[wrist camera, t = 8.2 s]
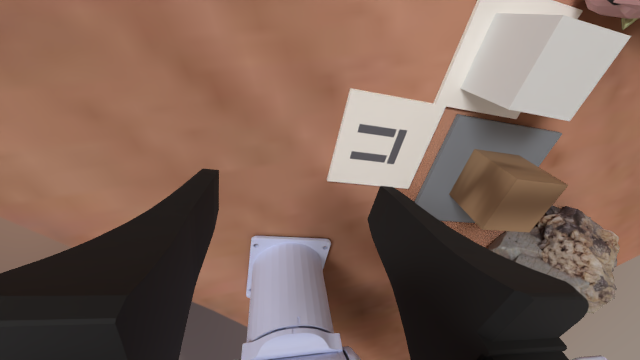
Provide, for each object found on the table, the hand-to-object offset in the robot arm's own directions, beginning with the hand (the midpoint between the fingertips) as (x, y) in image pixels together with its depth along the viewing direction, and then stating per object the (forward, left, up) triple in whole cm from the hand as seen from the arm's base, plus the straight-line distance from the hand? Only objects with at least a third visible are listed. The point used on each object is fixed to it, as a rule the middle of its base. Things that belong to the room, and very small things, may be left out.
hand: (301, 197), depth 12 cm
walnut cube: (-3, -19, -10) cm, 21 cm away
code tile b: (+7, -15, -10) cm, 19 cm away
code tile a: (-1, -8, -10) cm, 13 cm away
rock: (-10, -30, -10) cm, 33 cm away
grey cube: (+7, -15, -10) cm, 19 cm away
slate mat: (-3, -19, -10) cm, 22 cm away
